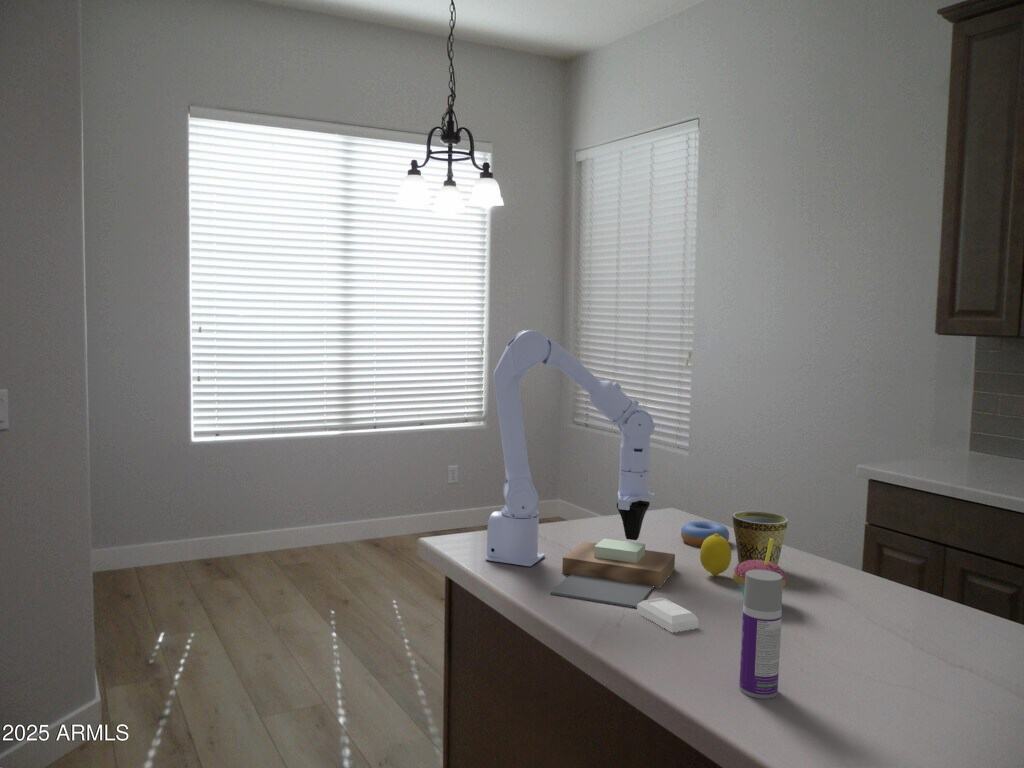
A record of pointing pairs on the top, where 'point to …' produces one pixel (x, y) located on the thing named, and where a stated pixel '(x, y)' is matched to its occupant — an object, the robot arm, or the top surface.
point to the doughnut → (702, 532)
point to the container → (761, 634)
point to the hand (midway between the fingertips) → (632, 538)
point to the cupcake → (757, 568)
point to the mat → (602, 590)
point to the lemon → (715, 554)
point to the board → (619, 566)
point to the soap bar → (667, 614)
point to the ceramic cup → (758, 534)
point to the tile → (619, 550)
